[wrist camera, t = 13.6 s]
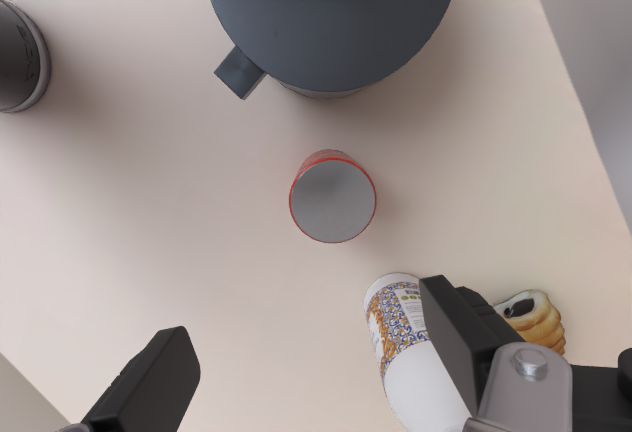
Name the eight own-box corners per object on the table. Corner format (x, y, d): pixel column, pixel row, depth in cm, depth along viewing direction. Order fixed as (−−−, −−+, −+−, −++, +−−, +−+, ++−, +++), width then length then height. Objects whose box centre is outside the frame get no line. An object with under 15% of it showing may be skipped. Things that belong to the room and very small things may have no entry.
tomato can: (296, 209, 32) (287, 242, 22) (299, 148, 30) (289, 155, 21) (356, 212, 32) (372, 246, 23) (362, 151, 30) (381, 160, 21)
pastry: (565, 348, 36) (593, 373, 32) (508, 373, 37) (528, 400, 33) (536, 281, 34) (562, 300, 30) (475, 309, 35) (494, 330, 31)
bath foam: (360, 274, 34) (416, 467, 14) (426, 267, 33) (575, 454, 14) (365, 331, 35) (421, 572, 16) (428, 325, 35) (563, 563, 16)
